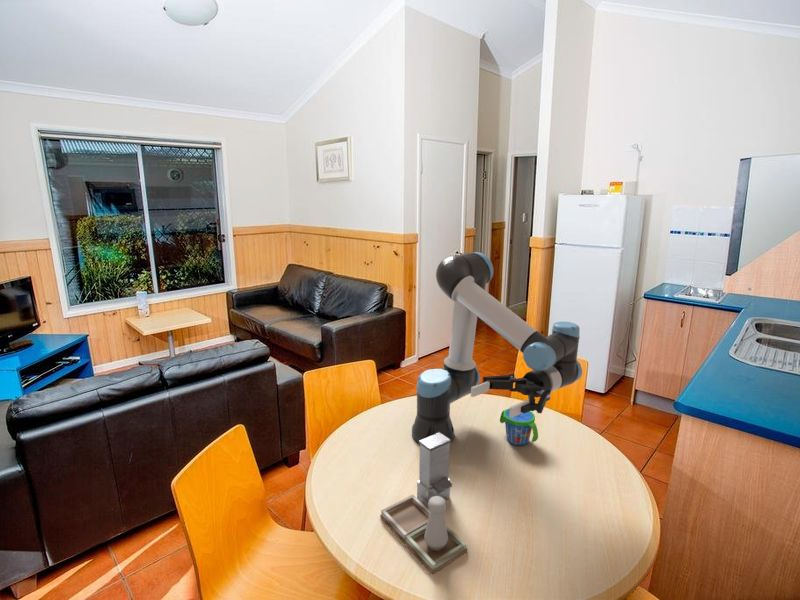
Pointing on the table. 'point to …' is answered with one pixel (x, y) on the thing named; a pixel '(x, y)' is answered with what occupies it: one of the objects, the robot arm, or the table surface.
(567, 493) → the table surface
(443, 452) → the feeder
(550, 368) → the robot arm
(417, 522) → the grey brown flat rectangle
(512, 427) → the snack cup
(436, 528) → the salt shaker
